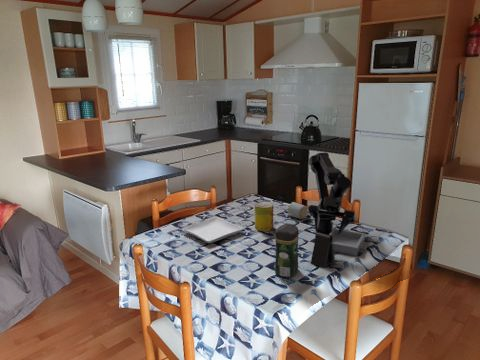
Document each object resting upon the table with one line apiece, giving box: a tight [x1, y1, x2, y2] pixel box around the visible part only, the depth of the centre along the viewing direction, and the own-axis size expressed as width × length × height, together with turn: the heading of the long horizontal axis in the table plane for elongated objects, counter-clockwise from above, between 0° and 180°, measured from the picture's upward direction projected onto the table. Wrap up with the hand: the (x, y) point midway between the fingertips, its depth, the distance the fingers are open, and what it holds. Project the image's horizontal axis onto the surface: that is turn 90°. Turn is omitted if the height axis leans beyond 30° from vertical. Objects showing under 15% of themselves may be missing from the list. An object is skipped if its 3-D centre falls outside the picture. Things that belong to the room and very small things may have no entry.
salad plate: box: [182, 216, 244, 244], centre depth 178 cm, size 21×21×3 cm
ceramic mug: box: [287, 201, 309, 220], centre depth 197 cm, size 11×8×8 cm
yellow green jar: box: [254, 201, 274, 232], centre depth 183 cm, size 9×9×12 cm
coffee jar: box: [274, 223, 299, 278], centre depth 139 cm, size 10×8×19 cm
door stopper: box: [310, 232, 336, 269], centre depth 147 cm, size 9×6×12 cm, turn 139°
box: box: [329, 228, 366, 257], centre depth 163 cm, size 14×16×4 cm
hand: (327, 232), depth 150 cm, fingers open, 9 cm apart
